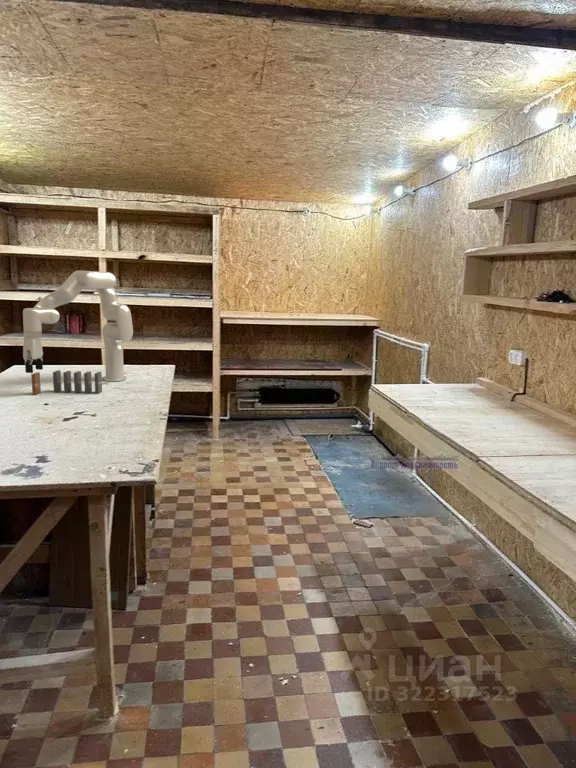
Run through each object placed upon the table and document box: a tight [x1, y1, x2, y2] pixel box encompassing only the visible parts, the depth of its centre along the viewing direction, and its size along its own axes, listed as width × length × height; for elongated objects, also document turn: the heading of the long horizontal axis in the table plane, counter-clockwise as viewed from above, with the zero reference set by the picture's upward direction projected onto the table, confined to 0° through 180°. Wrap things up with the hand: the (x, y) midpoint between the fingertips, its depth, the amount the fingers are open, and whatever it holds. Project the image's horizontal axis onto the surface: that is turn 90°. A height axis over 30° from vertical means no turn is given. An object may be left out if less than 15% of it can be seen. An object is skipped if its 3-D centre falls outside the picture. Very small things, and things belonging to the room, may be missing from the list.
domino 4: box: [73, 370, 83, 394], centre depth 250 cm, size 2×5×10 cm, turn 1°
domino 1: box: [30, 372, 42, 396], centre depth 243 cm, size 2×5×10 cm, turn 1°
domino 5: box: [83, 371, 93, 395], centre depth 250 cm, size 2×5×10 cm, turn 1°
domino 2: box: [52, 369, 62, 393], centre depth 250 cm, size 2×5×10 cm, turn 1°
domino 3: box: [62, 370, 73, 394], centre depth 250 cm, size 2×5×10 cm, turn 1°
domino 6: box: [94, 371, 103, 395], centre depth 250 cm, size 2×5×10 cm, turn 1°
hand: (34, 371), depth 241 cm, fingers open, 9 cm apart
